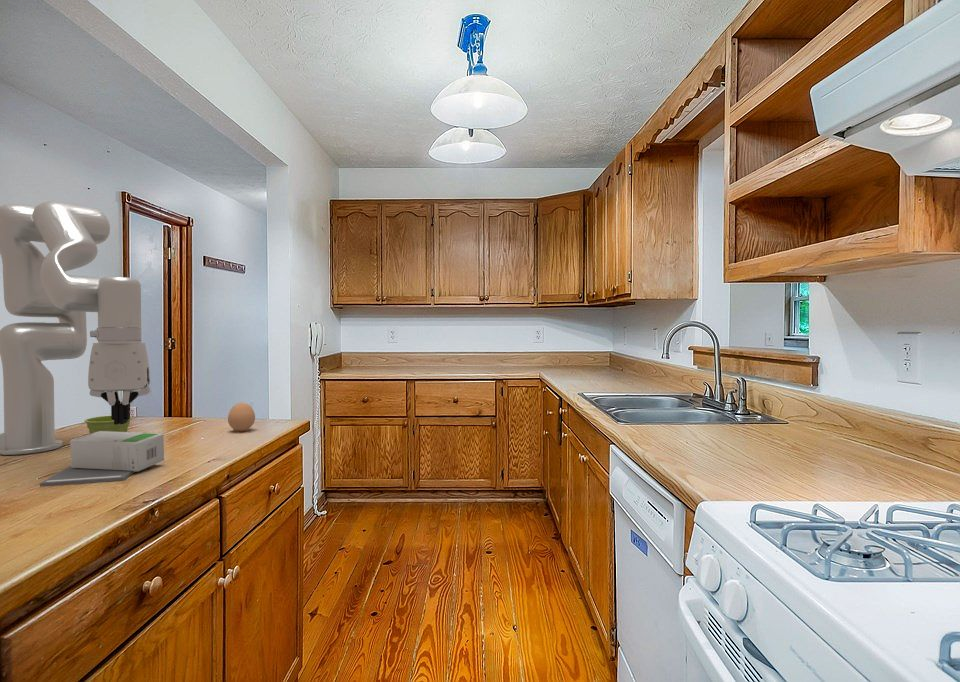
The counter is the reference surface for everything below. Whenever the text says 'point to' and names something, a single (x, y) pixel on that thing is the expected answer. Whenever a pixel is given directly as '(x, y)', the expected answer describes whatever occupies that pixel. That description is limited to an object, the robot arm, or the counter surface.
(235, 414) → the egg
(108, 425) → the plant pot
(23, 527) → the counter surface
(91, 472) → the mat
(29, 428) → the robot arm
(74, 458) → the skincare box
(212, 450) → the counter surface
